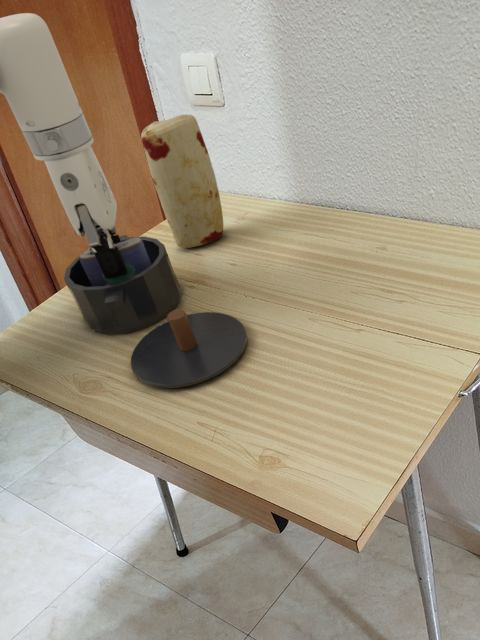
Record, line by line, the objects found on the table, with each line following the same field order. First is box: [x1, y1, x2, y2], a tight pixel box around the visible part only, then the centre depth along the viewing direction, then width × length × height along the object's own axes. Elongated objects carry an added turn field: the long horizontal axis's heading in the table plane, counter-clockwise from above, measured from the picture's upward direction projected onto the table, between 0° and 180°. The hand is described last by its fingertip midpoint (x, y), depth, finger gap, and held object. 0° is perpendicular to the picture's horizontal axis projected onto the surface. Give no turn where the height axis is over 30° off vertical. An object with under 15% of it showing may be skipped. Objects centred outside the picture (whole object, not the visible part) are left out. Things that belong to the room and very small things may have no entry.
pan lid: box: [130, 308, 248, 389], centre depth 76 cm, size 16×16×6 cm
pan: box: [63, 234, 182, 336], centre depth 87 cm, size 15×20×8 cm
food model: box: [140, 114, 225, 249], centre depth 95 cm, size 10×7×20 cm
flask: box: [78, 235, 152, 287], centre depth 85 cm, size 9×3×11 cm, turn 106°
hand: (117, 268), depth 85 cm, fingers closed on flask, 3 cm apart
